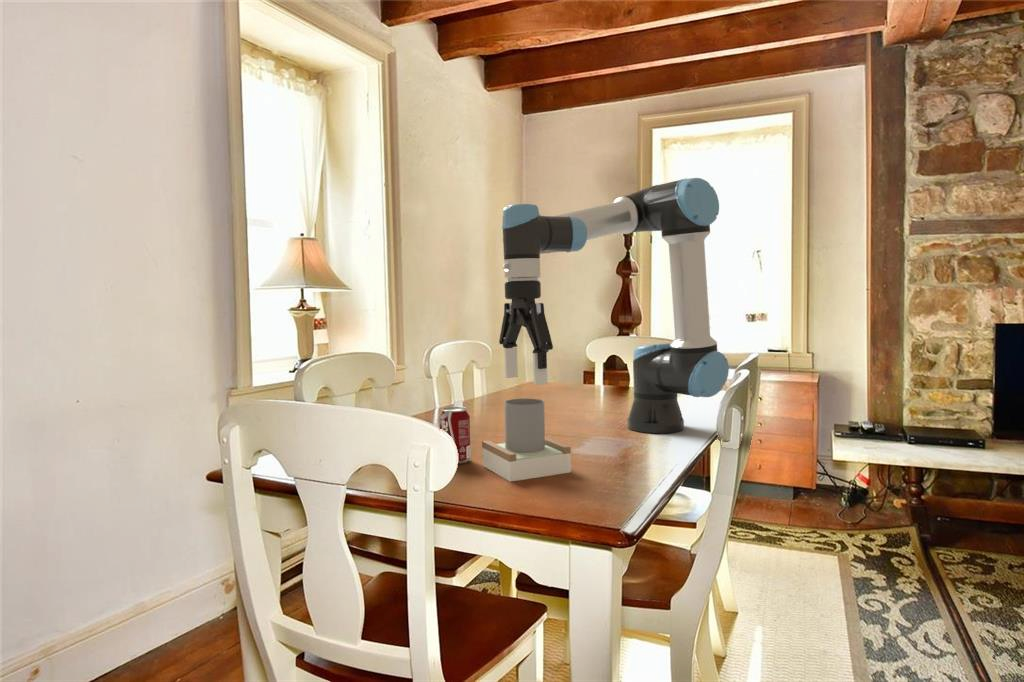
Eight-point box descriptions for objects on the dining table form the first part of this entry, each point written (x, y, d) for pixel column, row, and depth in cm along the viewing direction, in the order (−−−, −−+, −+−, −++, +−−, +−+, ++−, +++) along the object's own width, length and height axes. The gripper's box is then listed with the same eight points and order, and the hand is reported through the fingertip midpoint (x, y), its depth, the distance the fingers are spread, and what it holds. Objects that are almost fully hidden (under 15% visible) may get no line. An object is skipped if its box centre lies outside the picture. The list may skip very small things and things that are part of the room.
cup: (541, 453, 132) (540, 405, 131) (501, 452, 134) (501, 404, 133) (547, 444, 140) (546, 398, 139) (510, 443, 142) (509, 398, 141)
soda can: (475, 459, 146) (474, 406, 145) (463, 466, 140) (462, 412, 139) (448, 457, 148) (446, 405, 147) (435, 464, 142) (433, 410, 141)
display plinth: (539, 457, 146) (538, 434, 146) (570, 472, 134) (570, 446, 133) (482, 465, 140) (481, 441, 140) (509, 481, 128) (509, 454, 127)
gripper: (482, 281, 144) (485, 376, 145) (534, 278, 121) (537, 390, 123) (512, 281, 147) (515, 373, 149) (568, 277, 124) (571, 386, 126)
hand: (525, 381), depth 136 cm, fingers open, 13 cm apart
